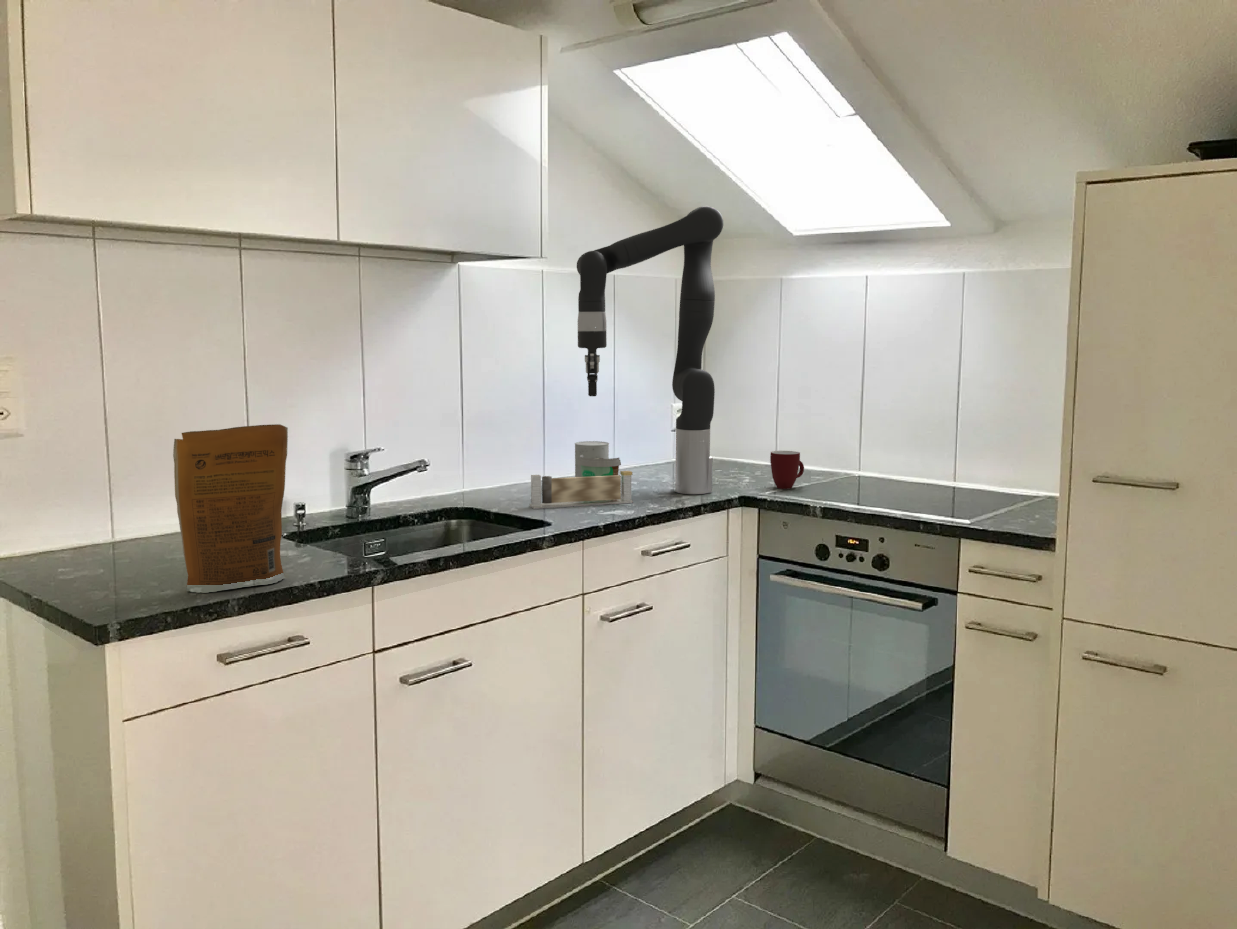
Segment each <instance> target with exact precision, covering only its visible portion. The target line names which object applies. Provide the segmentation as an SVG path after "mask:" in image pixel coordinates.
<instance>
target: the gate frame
mask: <svg viewBox="0 0 1237 929" xmlns="http://www.w3.org/2000/svg"><path fill="white" fill-rule="evenodd" d="M619 475H620V476H621V499H617V500H598V501H579V502H559V503H548V504H545V503H542V476H541V475H540V474H530V503H529V505H528V506H529V507H530V508H532V509H533V510H538V509H554V508H555V509H556V508H570V507H573V506H574V507H584V506H585V507H587V506H602V505H617V504H619V505H620V504H632V503H633V501H634V500H632V476H633V471H631V470H620V472H619Z"/></svg>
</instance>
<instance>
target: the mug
mask: <svg viewBox="0 0 1237 929" xmlns="http://www.w3.org/2000/svg"><path fill="white" fill-rule="evenodd" d="M769 454H770V457H769V458H770V459H769V462H770V470H771V476H772V480H773V483H774V485H775V487H776V488H777V489H778V490H790V489H792V488H793V486H794V485H795V483H796V481H797V479H798V478H801V477H802V476H803V474H804V472H805V465H804V463H803V461H801V452H799V451H795V450H772V451H770V453H769Z"/></svg>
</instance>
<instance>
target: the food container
mask: <svg viewBox="0 0 1237 929" xmlns="http://www.w3.org/2000/svg"><path fill="white" fill-rule="evenodd" d="M578 464H579V465H581V475H582V477H591V476H614V475H619V470H620V466H622V462H621V458H620V457H615V458H609V459H603V458H594V459H590V458H583V455H581V456H580V458H579V461H578Z"/></svg>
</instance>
